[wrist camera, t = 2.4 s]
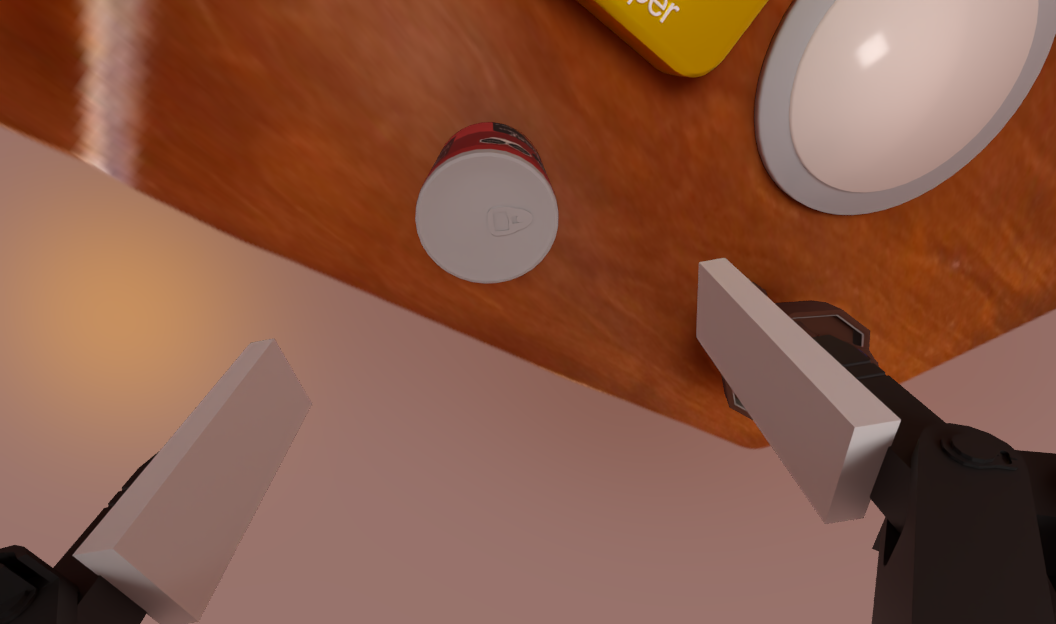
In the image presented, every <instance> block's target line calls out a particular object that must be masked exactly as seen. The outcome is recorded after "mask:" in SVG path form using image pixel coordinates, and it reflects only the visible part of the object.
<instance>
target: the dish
mask: <svg viewBox="0 0 1056 624" xmlns="http://www.w3.org/2000/svg"><path fill="white" fill-rule="evenodd" d="M1055 34H1056V0H793V1H792V3H791V5H790V6H789V8H788V9H787V11H786V13H785V14H784V16H783V18H782V20H781V22H780V24H779V26H778V28H777V30H776V32H775V34H774V36H773V38H772V40H771V43H770V45H769V48H768V51H767V53H766V56H765V58H764V62H763V65H762V69H761V72H760V76H759V79H758V85H757V91H756V97H755V109H754V126H755V137H756V142H757V146H758V151H759V154H760V157H761V159H762V162H763V164H764V167H765V169H766V170H767V172H768V174H769V175H770V177H771V179H772V180H773V181H774V182H775V183H776V184H777V186H778V187H779V188H780V189H781V190H782V191H784V192H785V193H786V194H787V195H789V196H790V197H791V198H793V199H795V200H796V201H798V202H800V203H802V204H804V205H806V206H808V207H810V208H812V209H815V210H818V211H821V212H825V213H831V214H837V215H857V214H866V213H872V212H876V211H881V210H885V209H888V208H891V207H894V206H897V205H900V204H902V203H905V202H907V201H909V200H911V199H914V198H916V197H918V196H920V195H922V194H923V193H925V192H927V191H929V190H931V189H932V188H934V187H936V186H937V185H939V184H940V183H942V182H943V181H945V180H946V179H948V178H949V177H951V176H952V175H953V174H955V173H956V172H957V171H959V170H960V169H961V168H962V167H964V166H965V165H966V164H967V163H969V162H970V161H971V160H972V159H973V158H974V157H975V156H976V155H977V154H978V153H979V152H981V151H982V150H983V149H984V148H985V147H986V146H987V145H988V144H989V142H990V141H991V140H992V139H993V138H994V137H995V136H996V135H997V134H998V133H999V132H1000V131H1001V129H1002V128H1003V127H1004V126H1005V124H1006V123H1007V122H1008V121H1009V119H1010V118H1011V117H1012V116H1013V114H1014V113H1015V112H1016V110H1017V109H1018V107H1019V106H1020V104H1021V103H1022V101H1023V100H1024V98H1025V97H1026V95H1027V94H1028V92H1029V90H1030V89H1031V87H1032V85H1033V83H1034V82H1035V80H1036V78H1037V76H1038V75H1039V73H1040V71H1041V68H1042V66H1043V64H1044V62H1045V60H1046V58H1047V55H1048V53H1049V51H1050V48H1051V45H1052V42H1053V39H1054V37H1055Z"/></svg>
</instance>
